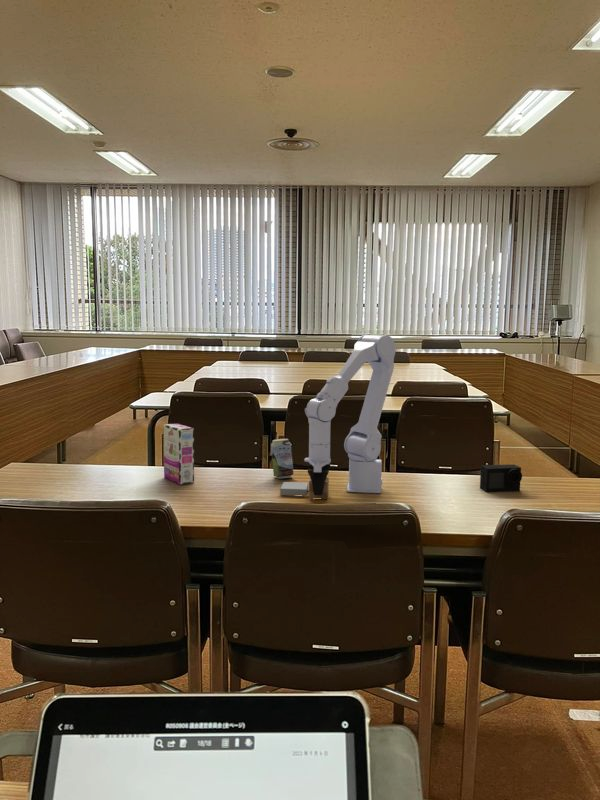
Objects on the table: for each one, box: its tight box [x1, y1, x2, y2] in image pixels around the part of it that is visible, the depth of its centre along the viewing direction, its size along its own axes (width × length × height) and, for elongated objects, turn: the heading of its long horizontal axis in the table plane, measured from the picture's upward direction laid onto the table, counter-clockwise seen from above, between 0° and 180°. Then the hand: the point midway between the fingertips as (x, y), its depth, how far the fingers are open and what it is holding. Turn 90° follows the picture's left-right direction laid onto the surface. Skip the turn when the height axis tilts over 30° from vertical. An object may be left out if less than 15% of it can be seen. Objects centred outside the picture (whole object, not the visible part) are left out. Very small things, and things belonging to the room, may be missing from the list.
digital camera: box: [479, 463, 523, 493], centre depth 185 cm, size 10×5×7 cm, turn 100°
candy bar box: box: [163, 423, 195, 486], centre depth 191 cm, size 11×5×16 cm, turn 36°
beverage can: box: [270, 438, 295, 479], centre depth 196 cm, size 6×7×12 cm
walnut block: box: [308, 476, 330, 500], centre depth 176 cm, size 5×5×5 cm
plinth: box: [280, 481, 309, 497], centre depth 180 cm, size 7×7×2 cm
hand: (318, 492), depth 176 cm, fingers closed on walnut block, 5 cm apart
